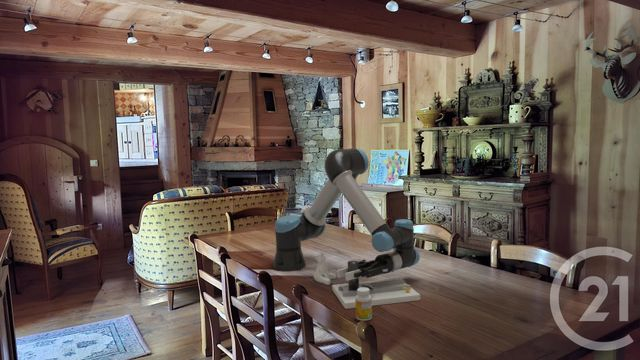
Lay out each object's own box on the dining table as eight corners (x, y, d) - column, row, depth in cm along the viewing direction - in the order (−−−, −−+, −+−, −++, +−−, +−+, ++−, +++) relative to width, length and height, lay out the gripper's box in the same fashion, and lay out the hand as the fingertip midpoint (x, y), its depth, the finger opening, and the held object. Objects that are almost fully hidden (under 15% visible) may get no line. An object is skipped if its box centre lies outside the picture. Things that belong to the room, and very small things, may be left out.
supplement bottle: (354, 315, 148) (353, 287, 148) (370, 314, 149) (369, 286, 148) (357, 321, 143) (356, 292, 142) (373, 320, 144) (372, 291, 143)
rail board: (345, 308, 154) (345, 298, 154) (332, 289, 174) (332, 280, 173) (420, 300, 160) (420, 289, 159) (399, 282, 179) (399, 273, 179)
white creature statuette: (329, 285, 179) (328, 256, 178) (309, 283, 182) (308, 255, 181) (336, 278, 188) (335, 250, 187) (317, 276, 191) (316, 249, 190)
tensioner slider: (348, 300, 157) (347, 268, 156) (341, 290, 166) (340, 261, 165) (378, 296, 159) (377, 265, 158) (369, 287, 168) (369, 258, 167)
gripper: (404, 277, 168) (358, 291, 154) (372, 267, 182) (328, 279, 168) (403, 257, 167) (357, 270, 154) (372, 249, 181) (327, 260, 167)
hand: (342, 275), depth 161 cm, fingers open, 4 cm apart
